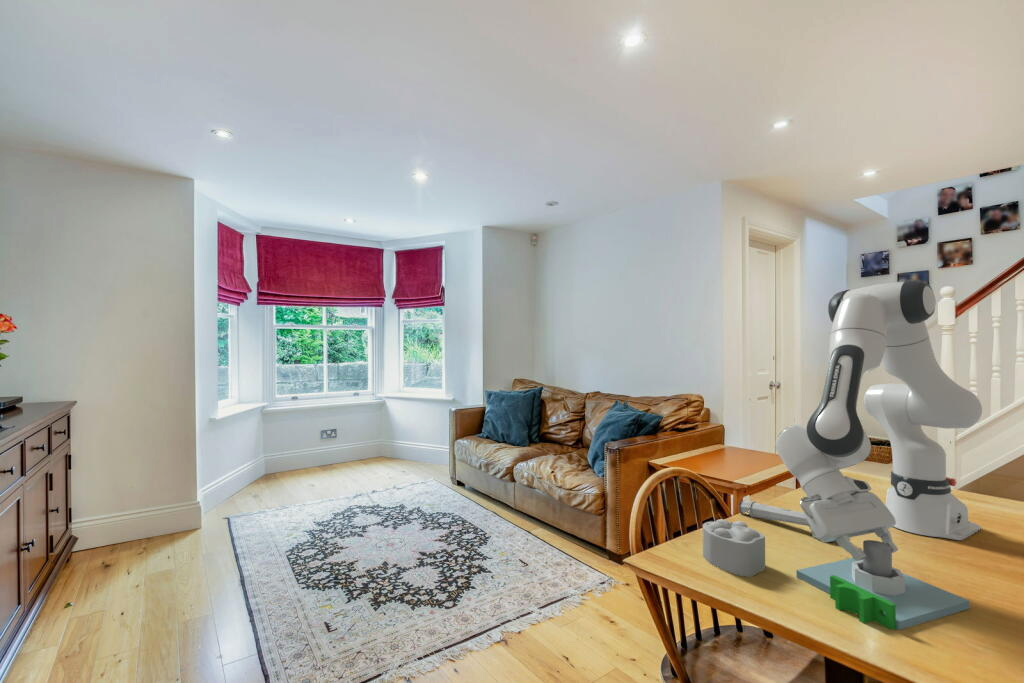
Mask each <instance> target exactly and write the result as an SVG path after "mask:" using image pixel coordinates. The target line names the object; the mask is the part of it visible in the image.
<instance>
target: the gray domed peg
mask: <svg viewBox="0 0 1024 683" xmlns="http://www.w3.org/2000/svg"><path fill="white" fill-rule="evenodd" d="M862 551H863V553H865V555H866V558H864V559H863V571H865V572H867V573H869V574H872V575H875V576H881V577H887V578H892V567H893V553H892V547H891V546H890V545H888V544H886V543H883V542H882V541H877V540H872V539H871V540H870V539H867V540H863V541H862Z"/></svg>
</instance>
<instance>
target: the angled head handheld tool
mask: <svg viewBox="0 0 1024 683" xmlns="http://www.w3.org/2000/svg"><path fill="white" fill-rule="evenodd" d="M749 510H750V511H749ZM738 511H739V514H741V513H745V512H747V513H749V514H748V515H750V516H749V517H752V518H753V517H754V518H759V519H766V520H771V521H772V520H773V521H778V522H784V523H789V524H790V523H791V524H796V525H802V526H807V527H808V528H809V530H810V531H811V535H812V538H813V539H817V540H818V541H821V540H820V539H818V538H817V536H816V535H815V533H814V532H813V530H812V528H811V527H810V525H809V523H808V521H807V519H806V517H805V515H804V512H802V511H797V510H792V509H787V508H784V507H783V508H782V507H779V506H774V505H767V504H764V503H759V502H757V501H755V500H754V501H747V500H742V501H740V503H739V504H738ZM748 511H749V512H748ZM745 514H746V513H745ZM830 542H832V541H830ZM834 542H836V540H835V541H834Z"/></svg>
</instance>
